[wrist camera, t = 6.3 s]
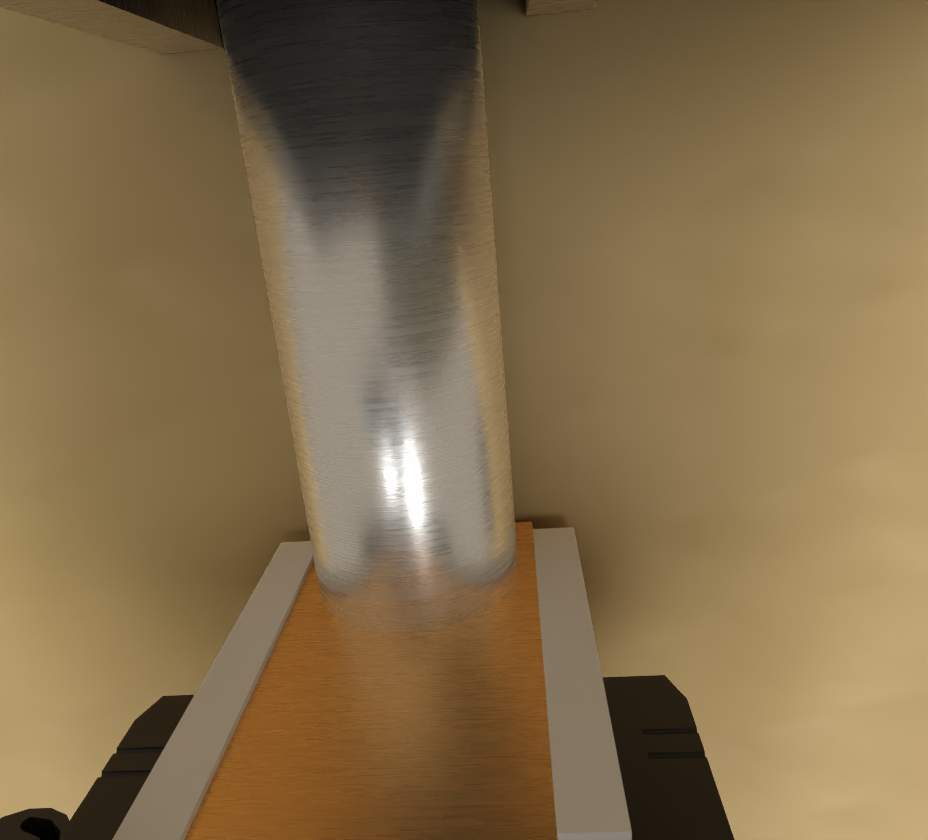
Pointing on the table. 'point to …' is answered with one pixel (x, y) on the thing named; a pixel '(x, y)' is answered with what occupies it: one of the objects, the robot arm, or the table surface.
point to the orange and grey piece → (386, 441)
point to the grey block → (175, 19)
